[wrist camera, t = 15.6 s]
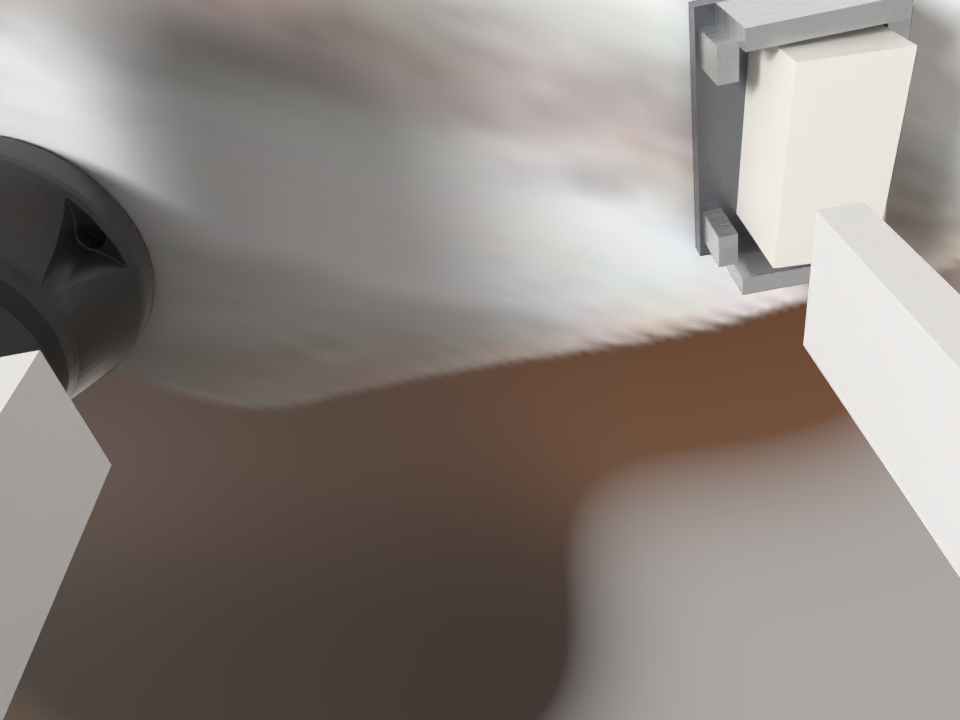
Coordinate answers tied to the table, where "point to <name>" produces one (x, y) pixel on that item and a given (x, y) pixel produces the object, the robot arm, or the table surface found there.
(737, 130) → the mount
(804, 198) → the cream rectangular block
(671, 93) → the table surface
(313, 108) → the table surface
